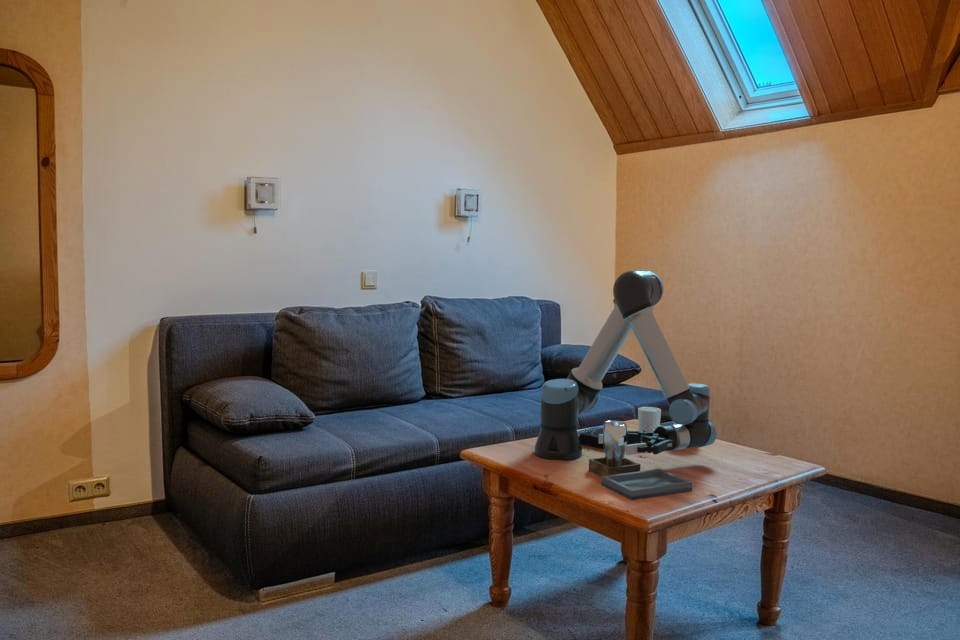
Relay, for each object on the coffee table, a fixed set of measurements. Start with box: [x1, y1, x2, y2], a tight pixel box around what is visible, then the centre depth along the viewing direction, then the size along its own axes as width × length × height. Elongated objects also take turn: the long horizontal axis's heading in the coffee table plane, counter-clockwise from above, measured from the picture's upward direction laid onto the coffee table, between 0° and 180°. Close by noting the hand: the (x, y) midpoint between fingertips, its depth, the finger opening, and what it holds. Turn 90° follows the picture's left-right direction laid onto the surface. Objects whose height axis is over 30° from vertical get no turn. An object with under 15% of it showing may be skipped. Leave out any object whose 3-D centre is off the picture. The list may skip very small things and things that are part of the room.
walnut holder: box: [588, 456, 641, 477], centre depth 218 cm, size 11×11×4 cm
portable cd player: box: [578, 427, 647, 453], centre depth 252 cm, size 16×17×4 cm
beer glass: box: [603, 420, 628, 467], centre depth 217 cm, size 7×7×15 cm
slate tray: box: [600, 468, 693, 501], centre depth 204 cm, size 14×20×2 cm
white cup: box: [637, 406, 662, 432], centre depth 263 cm, size 8×8×10 cm
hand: (612, 444), depth 216 cm, fingers open, 13 cm apart
